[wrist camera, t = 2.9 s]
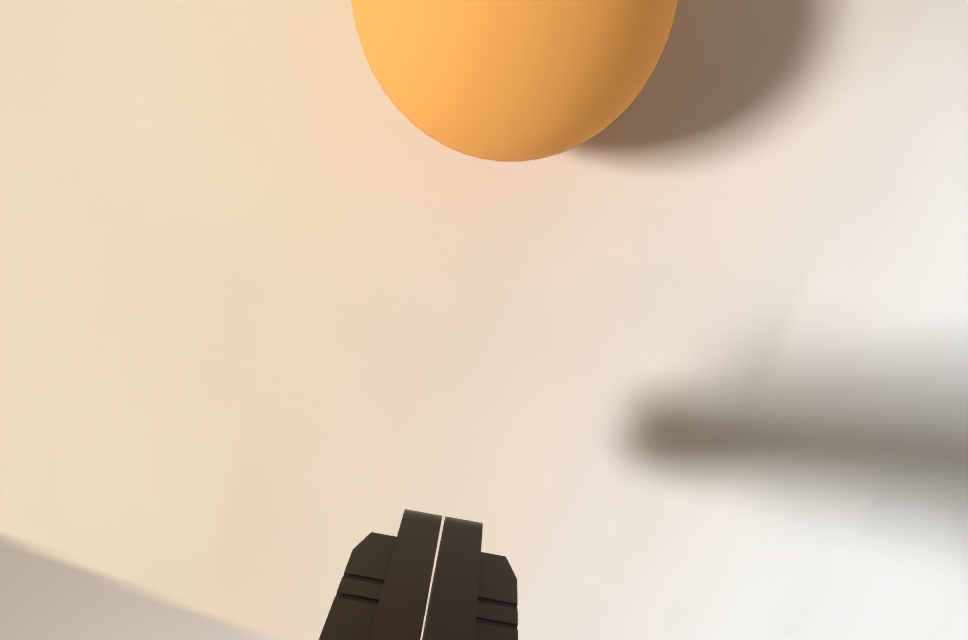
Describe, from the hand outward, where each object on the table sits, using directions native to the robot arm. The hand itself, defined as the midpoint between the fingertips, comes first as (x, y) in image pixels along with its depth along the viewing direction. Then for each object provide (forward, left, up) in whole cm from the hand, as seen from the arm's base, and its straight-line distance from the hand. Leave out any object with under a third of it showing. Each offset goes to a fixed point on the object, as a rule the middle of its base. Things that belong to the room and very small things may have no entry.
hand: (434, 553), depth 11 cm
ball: (-1, +10, -3) cm, 10 cm away
